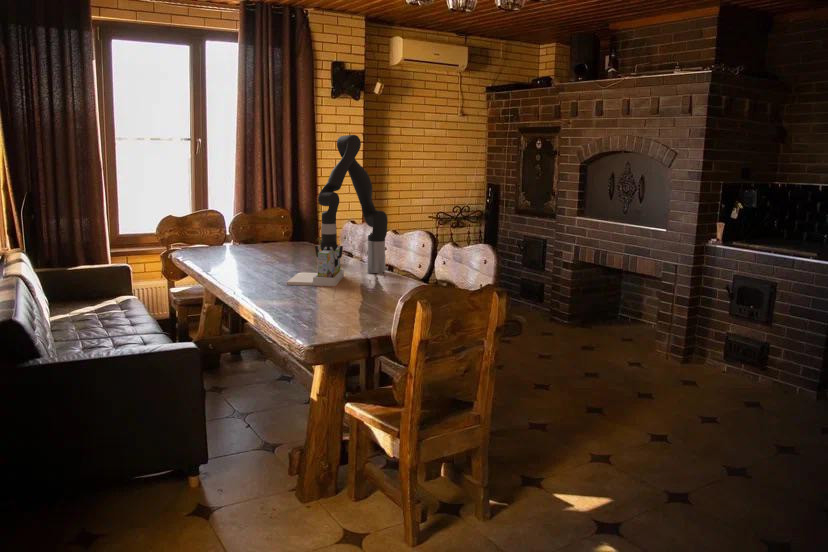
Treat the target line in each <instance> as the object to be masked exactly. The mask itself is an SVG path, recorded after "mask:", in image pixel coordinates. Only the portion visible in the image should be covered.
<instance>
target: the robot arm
mask: <svg viewBox="0 0 828 552" xmlns="http://www.w3.org/2000/svg"><path fill="white" fill-rule="evenodd" d="M361 147H362V141H361V139H360V137H359V135H356V134H348V135H341V136H339V137H337V140H336V148H337V150H338V153H339V155H340V157H341V159H340V160H339V161H338V163H337V164H336V165H335V166H334V167H333V169H332V170H331V172H330V174H329V176H328V179H327V182H326V184H325V185H324V186H323V187H322V189H321V190H320V191H319V193H318V196H317V201H318V204H319V205H320V206H322V207H328V209H327V210H325V211H322V212H321V229H320V233H321V234H320V236H321V237H320V238H321V239H320V240H321V243H320V244H321V245H320V244H316V245H315V247H314V250H315V255H316V258H317V259H318V252H320V250H321V249H320V247H321V248H322V250H333V252H334V251H335V250H336V249H337V248H338V249H339V250H340V251H339V256H338V255H337V253H336V251H335V252H334V257H335V267H337V265H338V259H339V258H340V259H342V257H343V250H344V246H343V245H338V241H337V240H338V233H337V212H338V208H339V204H340V196H339V194H338V193H337V191H339V190H340V189H341V187H342V185H343V182H344V179H345V177H346V176H347V173H348V174H349V177H350V180H351V183H352V185H353V189H354V191H355V193H356V196H357V199H358V201H359V204H360V208H361V210H362V215H363V218H364V222H365V224H366V225H367V226H368V227H370V228H372V230H371V231H372V232H371V233H370V234H368V236H367V273H368V272H369V273H368V274H371V273H383V272H384V271H385V272H386V237H387V235H388V216H387V213H386V212H385V211H383V210H378V209H377V208H376V207H375V205H374V202H373V184H372V181H371V178H370V174H369V173H368V172H367V171H366V169H365V168H364V167H363V166H362V165H361V164H360V163H359V162H358V161H357V159H356V157H357V155H358V154H359V151H360V150H361ZM322 250H321V251H322Z"/></svg>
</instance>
